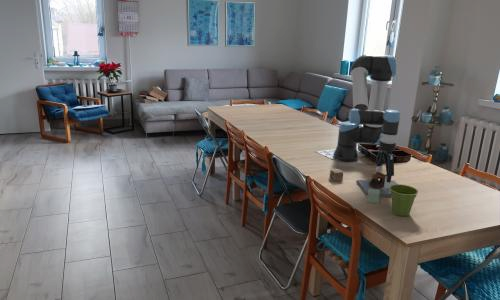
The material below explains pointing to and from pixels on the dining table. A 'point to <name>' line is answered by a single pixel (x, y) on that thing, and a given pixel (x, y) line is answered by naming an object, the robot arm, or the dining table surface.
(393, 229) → the dining table surface
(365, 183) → the slate mat
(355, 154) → the robot arm
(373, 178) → the pottery mug
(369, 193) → the sage block
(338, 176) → the walnut block
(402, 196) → the plant pot
